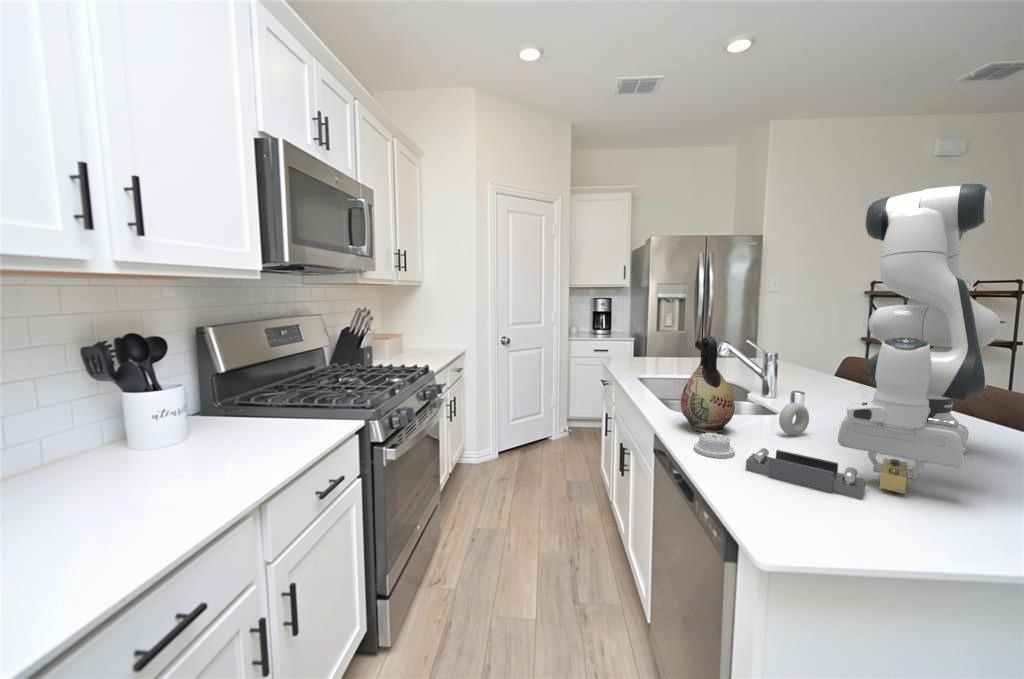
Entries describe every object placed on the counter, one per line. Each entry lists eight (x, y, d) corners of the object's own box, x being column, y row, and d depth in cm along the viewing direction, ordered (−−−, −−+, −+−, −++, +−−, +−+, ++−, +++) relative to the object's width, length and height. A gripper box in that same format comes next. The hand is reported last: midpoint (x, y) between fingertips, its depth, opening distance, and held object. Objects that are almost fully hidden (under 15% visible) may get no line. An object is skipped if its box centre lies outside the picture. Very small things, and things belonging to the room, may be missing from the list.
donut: (800, 431, 131) (802, 400, 130) (811, 435, 128) (813, 402, 127) (775, 435, 128) (777, 402, 127) (785, 439, 125) (787, 405, 124)
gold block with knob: (879, 487, 92) (881, 469, 91) (882, 472, 99) (884, 455, 98) (904, 493, 89) (906, 474, 88) (906, 477, 96) (907, 460, 95)
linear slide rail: (753, 461, 108) (754, 444, 108) (865, 488, 93) (866, 469, 93) (744, 471, 103) (745, 453, 103) (861, 501, 88) (863, 480, 87)
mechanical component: (698, 458, 112) (739, 460, 110) (699, 441, 111) (740, 444, 109) (690, 444, 122) (728, 447, 120) (690, 429, 121) (728, 431, 119)
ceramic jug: (674, 421, 143) (677, 332, 140) (723, 422, 141) (727, 332, 137) (688, 438, 126) (692, 337, 123) (743, 440, 124) (749, 338, 121)
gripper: (968, 419, 87) (961, 484, 89) (842, 402, 101) (838, 458, 103) (971, 427, 82) (963, 495, 84) (838, 408, 96) (834, 467, 98)
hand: (893, 475), depth 93 cm, fingers closed on gold block with knob, 4 cm apart
